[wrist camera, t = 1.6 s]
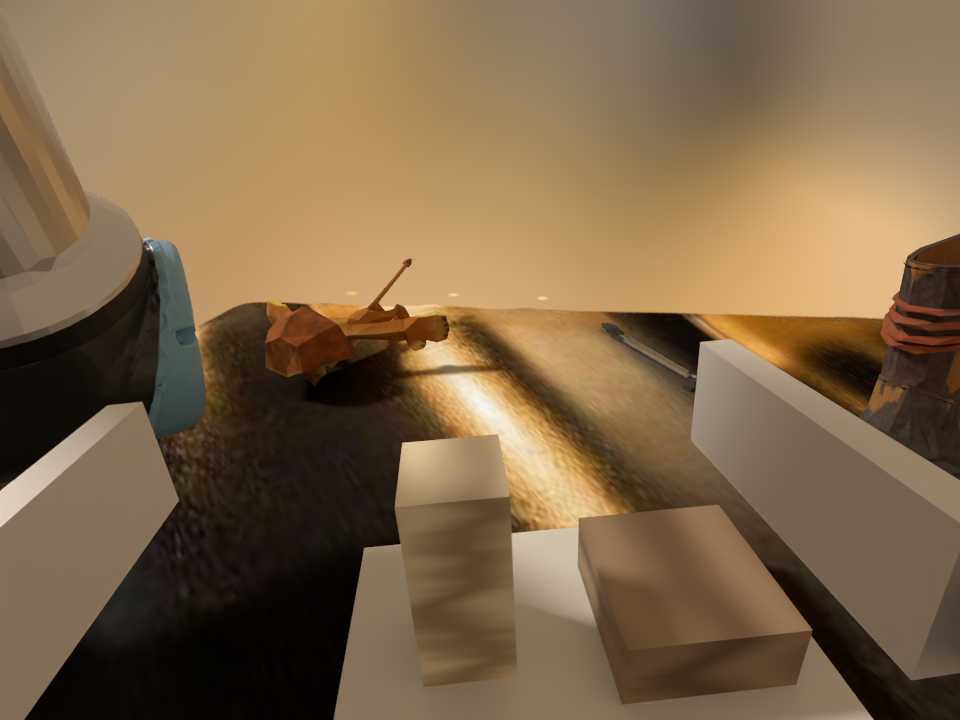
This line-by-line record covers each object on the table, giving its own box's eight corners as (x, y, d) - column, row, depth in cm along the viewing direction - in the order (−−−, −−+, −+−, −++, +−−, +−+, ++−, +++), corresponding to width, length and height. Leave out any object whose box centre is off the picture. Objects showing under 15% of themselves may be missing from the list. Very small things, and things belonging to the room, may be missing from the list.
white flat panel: (315, 831, 22) (314, 826, 22) (365, 551, 36) (364, 547, 36) (898, 760, 23) (900, 755, 23) (719, 516, 38) (720, 512, 37)
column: (423, 687, 27) (394, 507, 22) (425, 606, 31) (402, 442, 27) (517, 676, 27) (510, 496, 22) (506, 598, 32) (497, 434, 27)
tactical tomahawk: (741, 391, 57) (743, 382, 56) (691, 397, 55) (693, 388, 54) (635, 327, 75) (636, 320, 74) (594, 330, 73) (595, 323, 73)
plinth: (622, 704, 26) (627, 650, 24) (577, 565, 34) (578, 518, 32) (796, 684, 26) (812, 630, 24) (710, 551, 34) (718, 504, 32)
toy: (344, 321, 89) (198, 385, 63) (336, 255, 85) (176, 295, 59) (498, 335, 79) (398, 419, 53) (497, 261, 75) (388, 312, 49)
